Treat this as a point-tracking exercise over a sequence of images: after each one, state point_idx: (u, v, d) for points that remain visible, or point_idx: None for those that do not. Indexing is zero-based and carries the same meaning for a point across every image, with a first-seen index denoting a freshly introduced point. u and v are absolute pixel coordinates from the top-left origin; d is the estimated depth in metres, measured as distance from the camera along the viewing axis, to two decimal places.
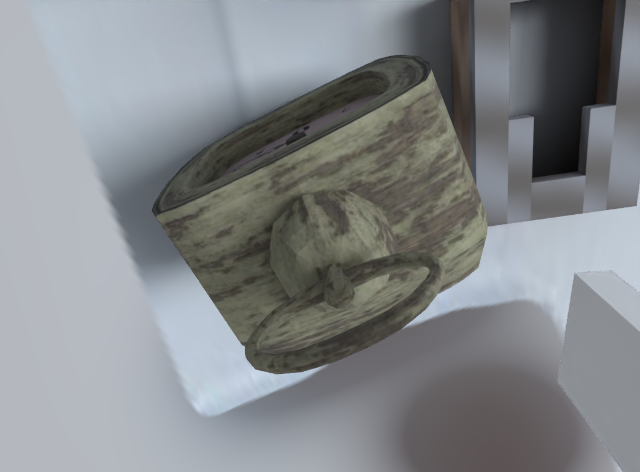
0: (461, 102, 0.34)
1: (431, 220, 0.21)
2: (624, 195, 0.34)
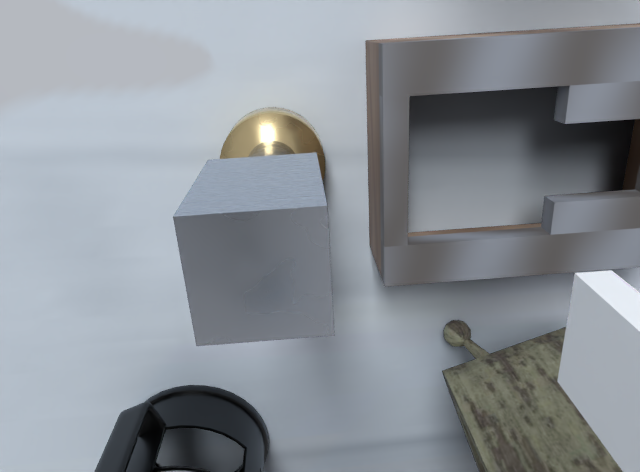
0: None
1: None
2: None
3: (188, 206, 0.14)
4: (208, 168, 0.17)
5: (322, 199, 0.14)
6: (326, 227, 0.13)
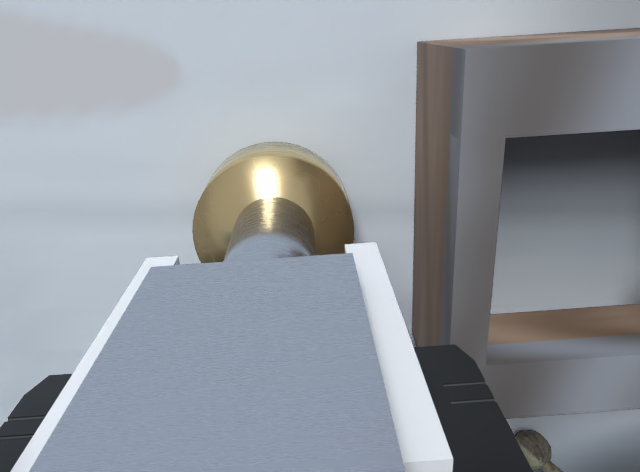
0: None
1: None
2: None
3: None
4: (143, 298, 0.09)
5: None
6: None
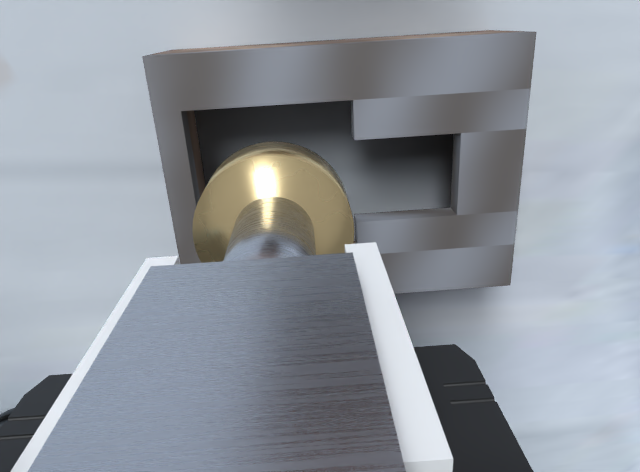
0: None
1: None
2: (511, 58, 0.20)
3: None
4: (143, 298, 0.09)
5: None
6: None
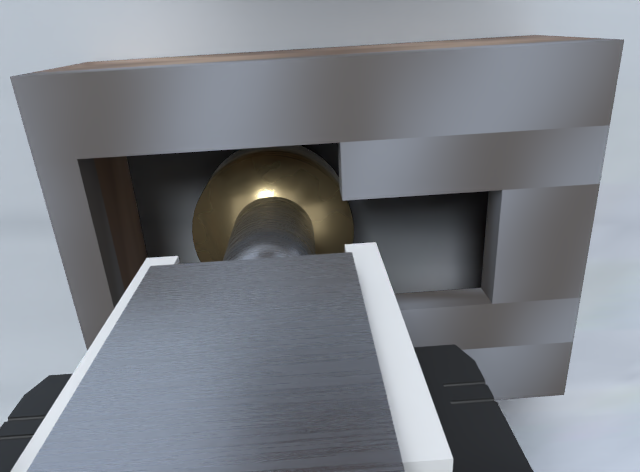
0: None
1: None
2: (583, 80, 0.13)
3: None
4: (142, 297, 0.09)
5: None
6: None
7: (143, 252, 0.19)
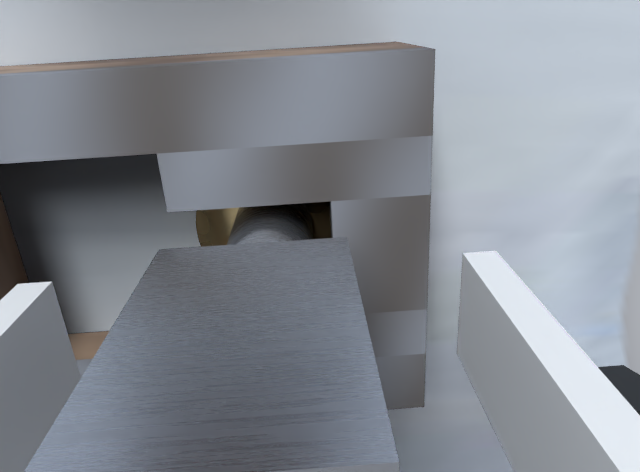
0: None
1: None
2: (398, 90, 0.13)
3: (67, 435, 0.06)
4: (153, 276, 0.10)
5: (381, 424, 0.06)
6: None
7: (16, 261, 0.19)
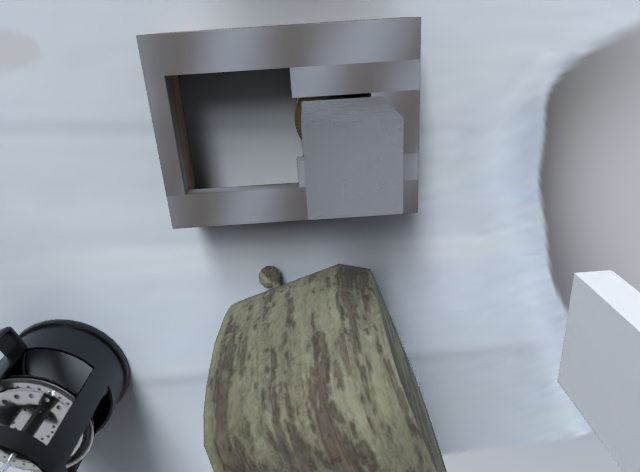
0: None
1: (329, 453, 0.22)
2: (404, 37, 0.27)
3: (307, 120, 0.20)
4: (305, 105, 0.24)
5: (398, 115, 0.20)
6: (402, 133, 0.20)
7: (187, 143, 0.33)
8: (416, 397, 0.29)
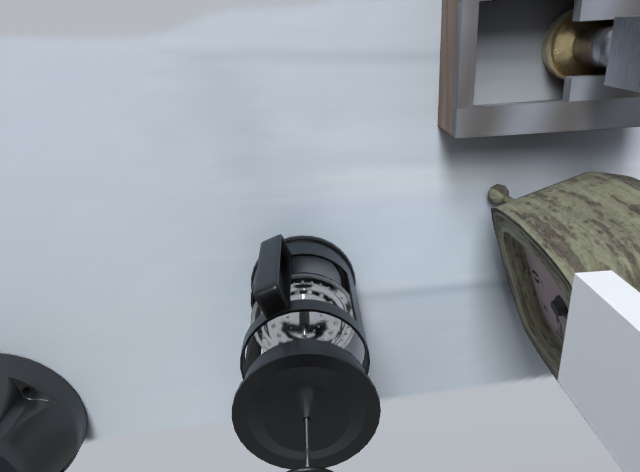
0: None
1: None
2: None
3: None
4: (630, 16, 0.29)
5: None
6: None
7: None
8: None
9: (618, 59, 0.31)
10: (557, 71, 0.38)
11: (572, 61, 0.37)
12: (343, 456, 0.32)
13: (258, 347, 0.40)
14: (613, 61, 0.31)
